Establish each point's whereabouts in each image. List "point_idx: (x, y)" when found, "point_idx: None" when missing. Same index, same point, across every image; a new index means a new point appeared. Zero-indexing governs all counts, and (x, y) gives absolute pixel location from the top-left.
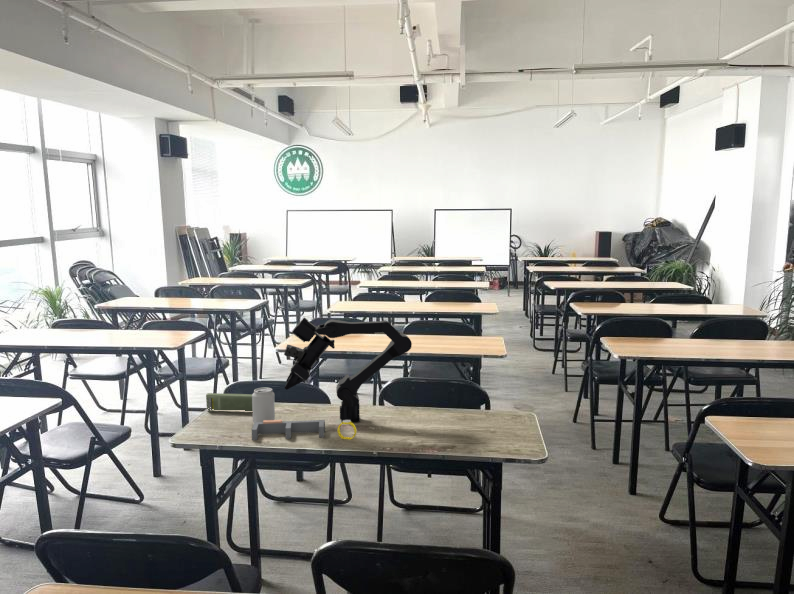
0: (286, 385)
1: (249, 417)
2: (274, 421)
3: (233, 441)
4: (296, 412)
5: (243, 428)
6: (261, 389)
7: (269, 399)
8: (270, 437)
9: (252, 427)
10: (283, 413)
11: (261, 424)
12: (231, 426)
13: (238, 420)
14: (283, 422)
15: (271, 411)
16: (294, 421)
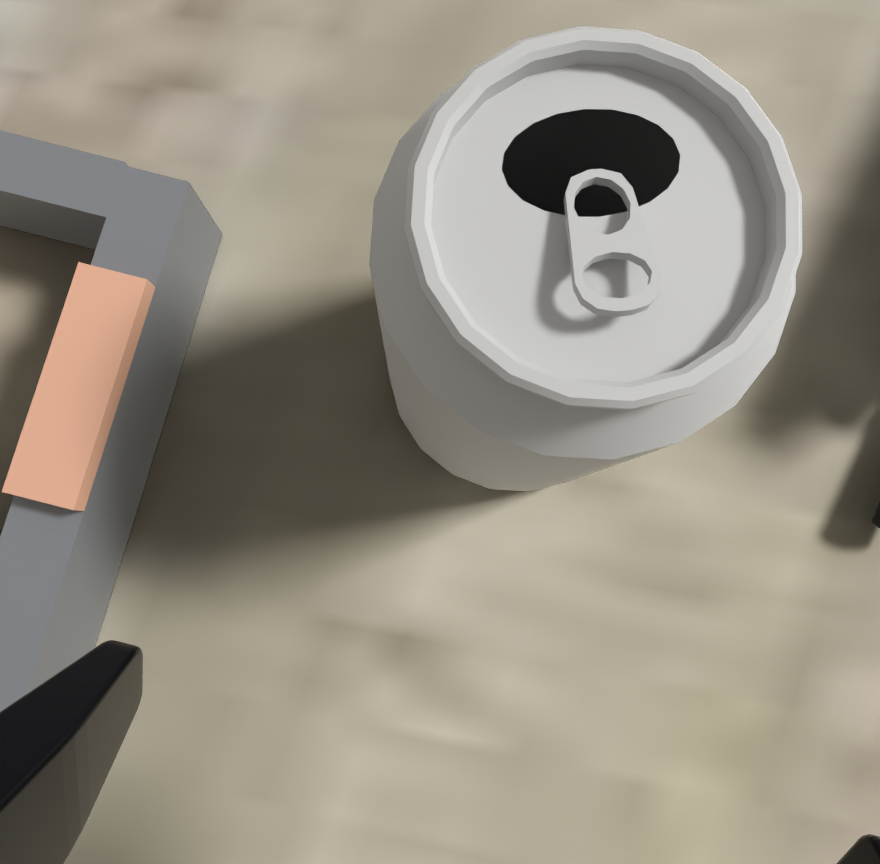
0: (18, 709)
1: None
2: (38, 399)
3: (52, 14)
4: (792, 816)
5: None
6: (752, 211)
7: (389, 348)
8: (7, 361)
9: (3, 133)
10: (800, 649)
11: (97, 252)
12: None
13: None
14: (32, 517)
15: (413, 419)
16: (7, 666)
